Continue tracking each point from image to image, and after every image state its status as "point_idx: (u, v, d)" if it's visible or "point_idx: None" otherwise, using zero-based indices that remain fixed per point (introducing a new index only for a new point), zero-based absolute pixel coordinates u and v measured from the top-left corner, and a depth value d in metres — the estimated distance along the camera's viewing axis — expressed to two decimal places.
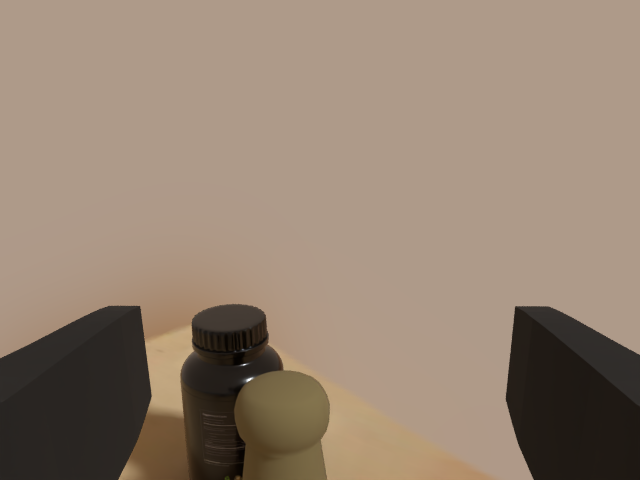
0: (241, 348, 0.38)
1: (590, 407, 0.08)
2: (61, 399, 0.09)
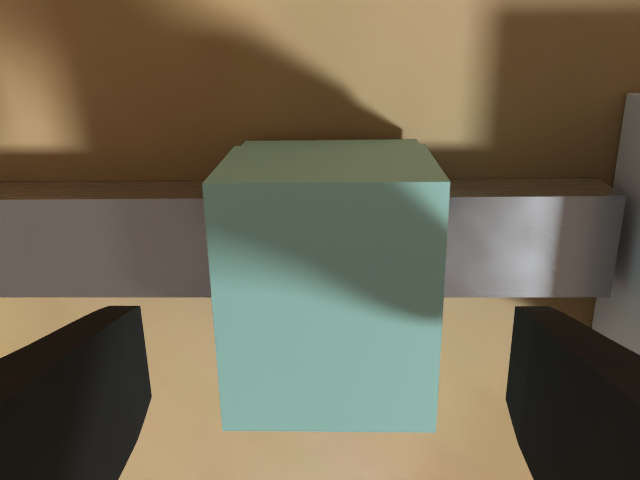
0: None
1: (590, 407, 0.08)
2: (60, 399, 0.09)
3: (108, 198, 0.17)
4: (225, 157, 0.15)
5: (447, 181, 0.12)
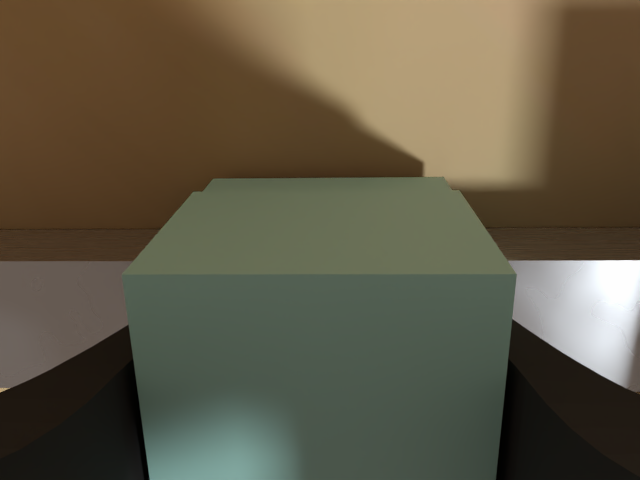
0: None
1: (514, 406, 0.08)
2: (131, 399, 0.09)
3: (24, 260, 0.12)
4: (174, 215, 0.10)
5: (511, 273, 0.08)
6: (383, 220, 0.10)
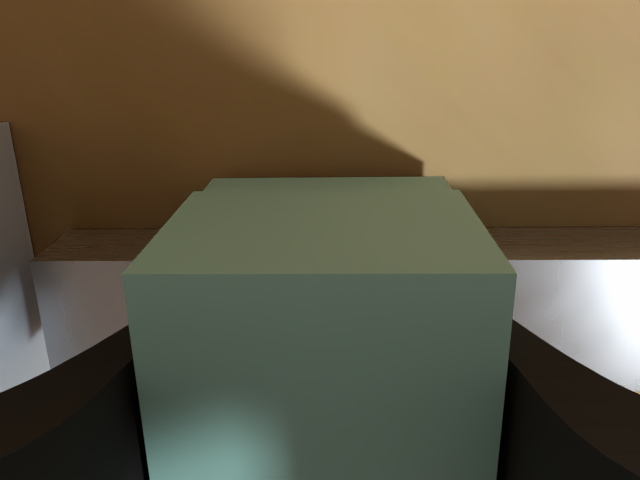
0: None
1: (513, 406, 0.08)
2: (130, 399, 0.09)
3: None
4: (174, 215, 0.10)
5: (512, 272, 0.08)
6: (383, 220, 0.10)
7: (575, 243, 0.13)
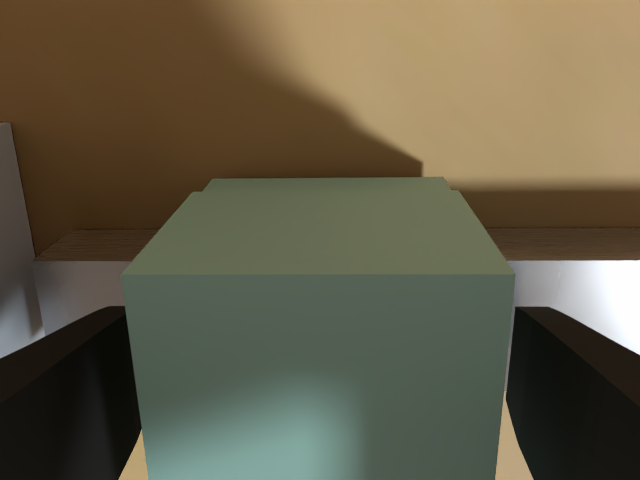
0: None
1: (590, 406, 0.08)
2: (60, 399, 0.09)
3: None
4: (173, 215, 0.10)
5: (510, 273, 0.08)
6: (382, 220, 0.10)
7: (576, 244, 0.13)
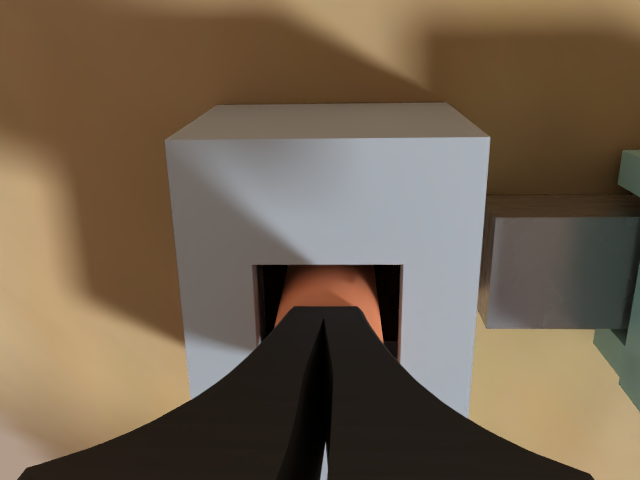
0: None
1: None
2: (307, 401, 0.09)
3: None
4: None
5: None
6: None
7: None
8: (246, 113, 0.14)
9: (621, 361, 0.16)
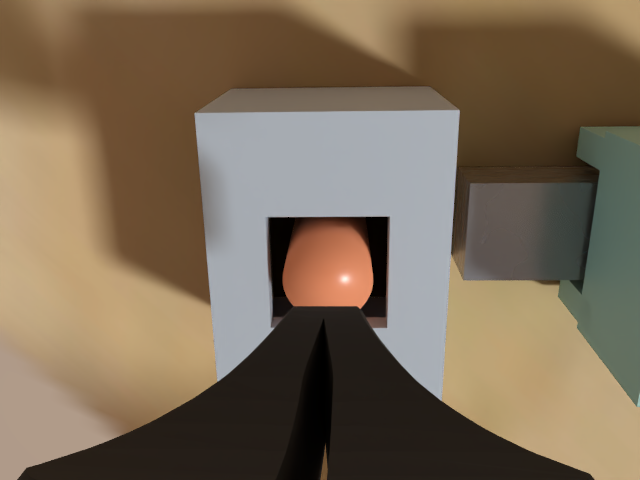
0: None
1: None
2: (306, 401, 0.09)
3: None
4: (632, 141, 0.15)
5: None
6: None
7: None
8: (258, 94, 0.17)
9: (579, 308, 0.18)
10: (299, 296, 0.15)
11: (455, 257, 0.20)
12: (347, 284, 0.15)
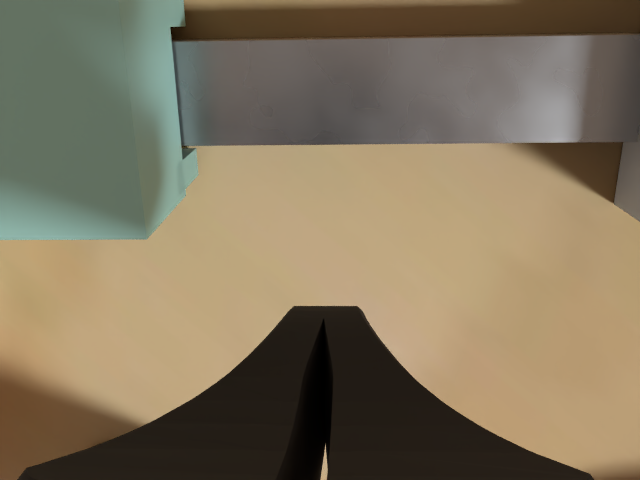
0: None
1: None
2: (306, 400, 0.09)
3: None
4: None
5: None
6: None
7: (272, 39, 0.18)
8: None
9: None
10: None
11: None
12: None
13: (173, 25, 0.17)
